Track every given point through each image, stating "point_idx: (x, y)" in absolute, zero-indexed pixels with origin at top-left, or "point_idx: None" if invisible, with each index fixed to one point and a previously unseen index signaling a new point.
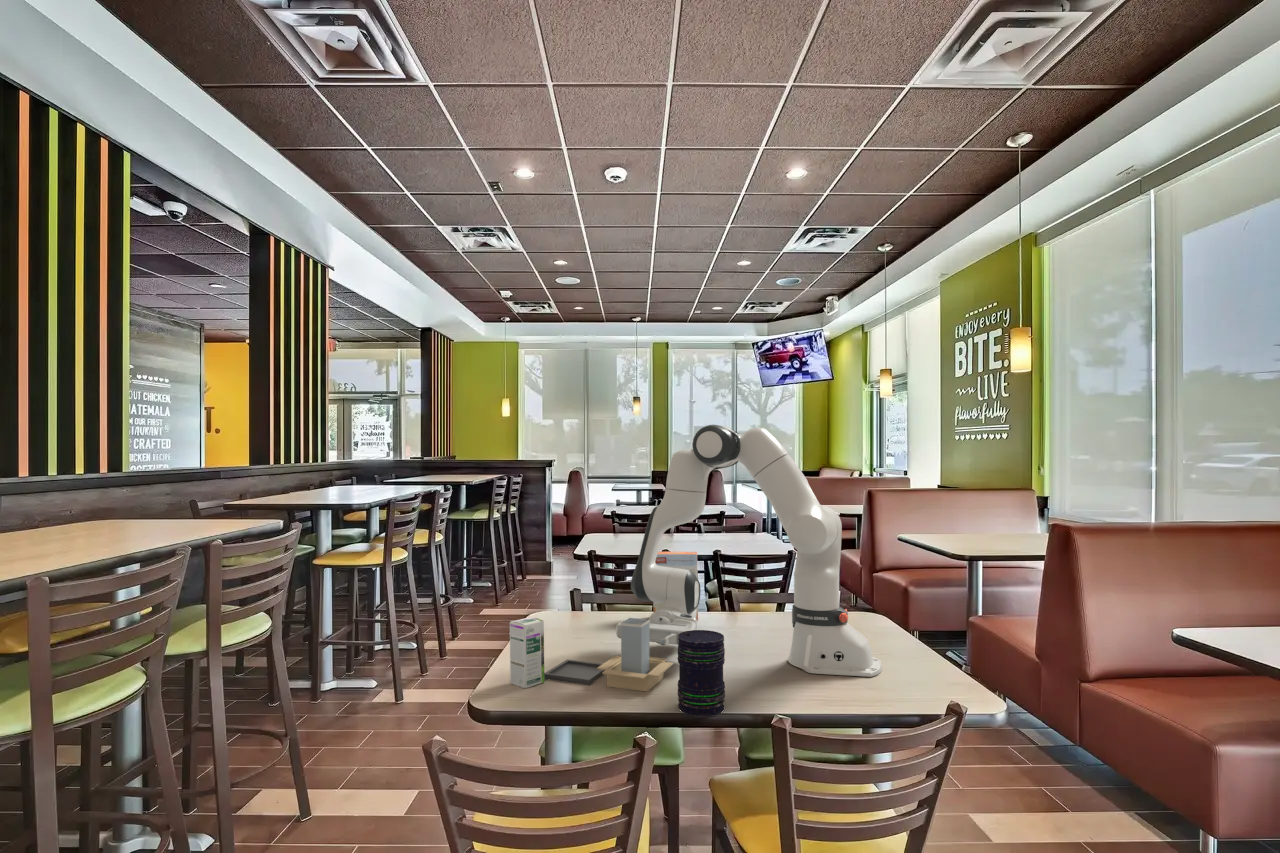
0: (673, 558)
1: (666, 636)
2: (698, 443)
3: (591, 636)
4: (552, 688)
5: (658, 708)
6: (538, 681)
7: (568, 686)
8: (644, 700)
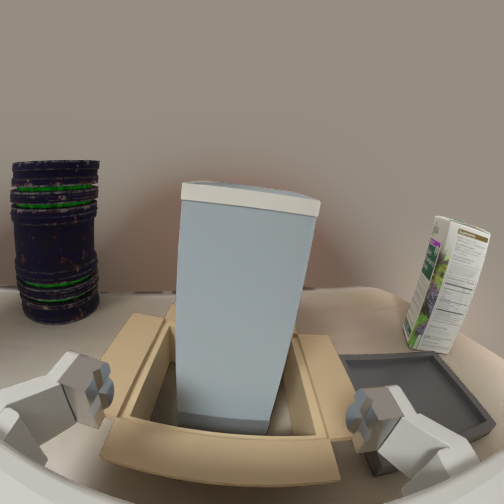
0: None
1: (61, 380)
2: None
3: None
4: (374, 338)
5: (135, 302)
6: (407, 334)
7: (360, 350)
8: None
